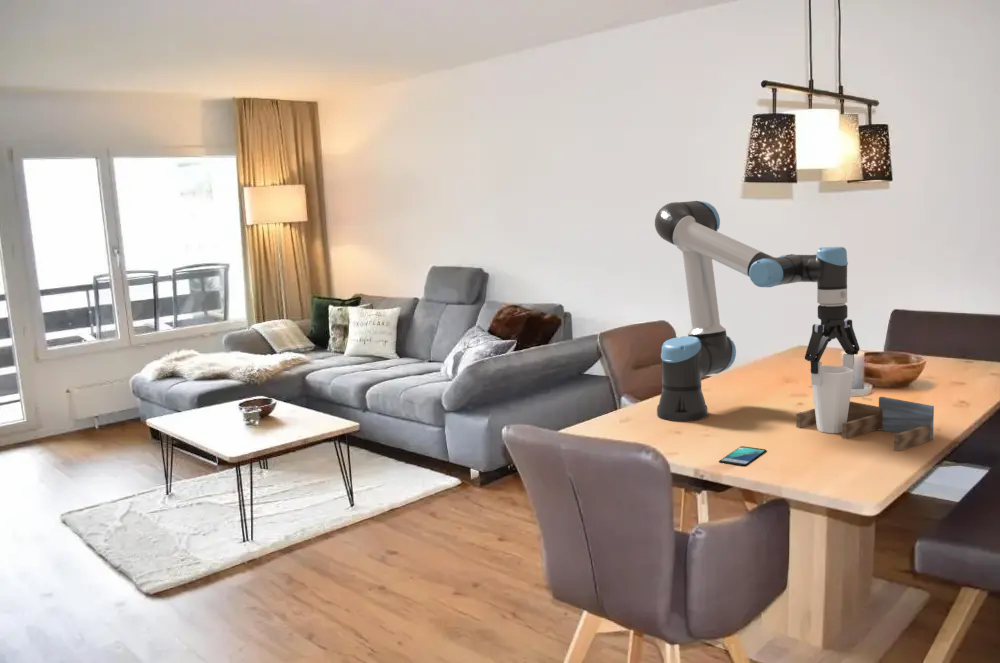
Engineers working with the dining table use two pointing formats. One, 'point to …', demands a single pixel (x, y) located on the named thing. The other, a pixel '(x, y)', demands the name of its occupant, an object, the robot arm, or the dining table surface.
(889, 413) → the wooden divider rack
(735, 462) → the smartphone
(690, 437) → the dining table surface
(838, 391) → the cup
